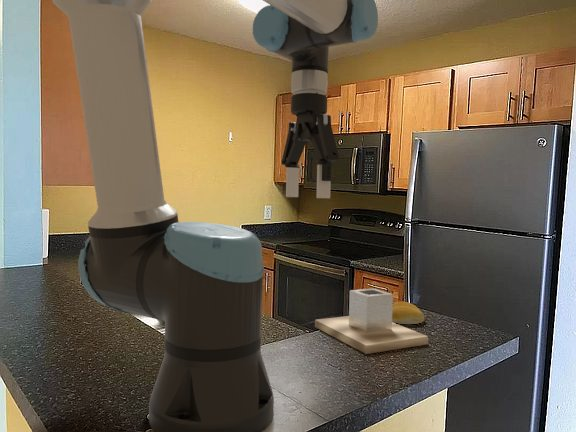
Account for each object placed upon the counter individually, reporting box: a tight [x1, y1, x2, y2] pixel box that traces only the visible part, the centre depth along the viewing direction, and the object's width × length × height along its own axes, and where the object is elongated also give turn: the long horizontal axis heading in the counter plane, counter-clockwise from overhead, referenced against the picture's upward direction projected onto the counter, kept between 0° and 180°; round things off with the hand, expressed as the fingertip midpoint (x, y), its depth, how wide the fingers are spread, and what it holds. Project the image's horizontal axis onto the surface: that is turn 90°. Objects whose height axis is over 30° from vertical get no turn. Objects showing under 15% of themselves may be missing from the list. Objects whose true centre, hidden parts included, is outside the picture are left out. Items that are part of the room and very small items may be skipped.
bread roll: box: [392, 301, 425, 325], centre depth 105 cm, size 8×9×4 cm
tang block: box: [314, 315, 429, 355], centre depth 93 cm, size 18×14×6 cm
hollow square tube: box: [348, 287, 394, 333], centre depth 93 cm, size 6×6×7 cm
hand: (306, 197), depth 99 cm, fingers open, 13 cm apart
